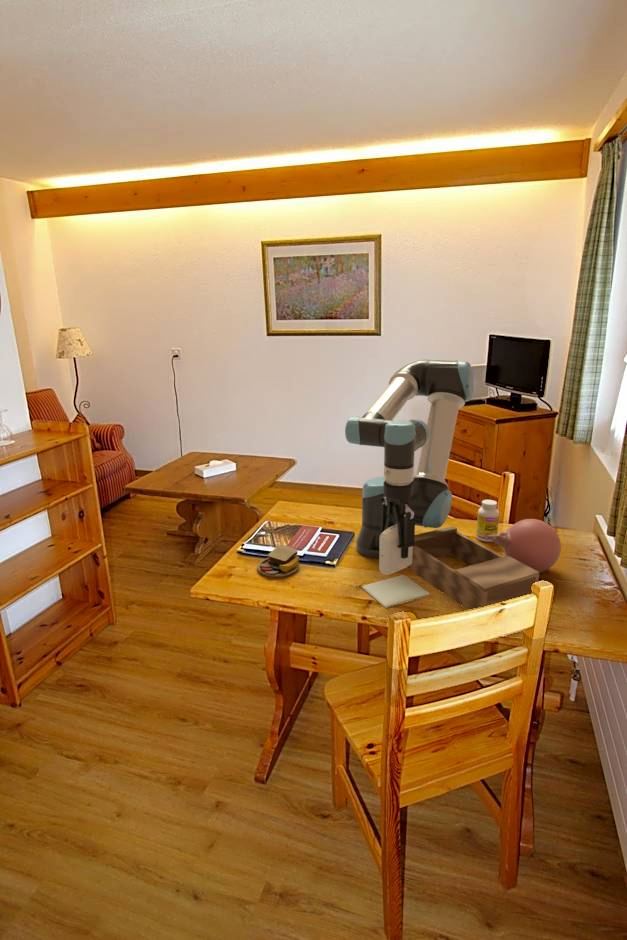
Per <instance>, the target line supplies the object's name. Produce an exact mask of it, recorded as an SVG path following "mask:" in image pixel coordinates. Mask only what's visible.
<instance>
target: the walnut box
mask: <svg viewBox="0 0 627 940" xmlns="http://www.w3.org/2000/svg"><path fill="white" fill-rule="evenodd" d="M450 555H451V556H453V557H454V558H456V559H457V560H459V561H461V562H462V563H464V564H466V565H467V566H464V567H460V568H458V569H453V568H452V567H450V566H449V565H447V564H445V563H444V562H442V561H441V560H440V559H439V558H442V557H447V556H450ZM407 569H408V570H410V571H411V572H413V573H414V574H415V575H417V576H418V577H420V579H422V580H424V581H425V582H427V583H428V584H430V585H431V586H432V587H434V588H435V589H437V590H438V591H439V590H440V591H439V592H441V593H442V592H443V593H442V594H444V595H445V596H446V595H447V597H448V598H449V597H450V599H451V600H452V599H453V600H452V601H453V602H455V601H456V602H457V603H456V602H455V603H456V604H458V605H459V604H460V605H459V606H461V605H462V606H463V607H464V608H463V607H462V606H461V607H462V608H463V609H465V610H466V609H473V608H478V607H484V606H487V605H491V604H495V603H499V602H502V601H506V600H509V599H512V598H516V597H520V596H523V595H527V594H531V593H532V590H531V586H532V584H533V583H535V582H538V583H539V578H540V572H538V571H536V570H534V569H532V568H531V567H529V566H527V565H525V564H523V563H521V562H519V561H517V560H516V559H514V558H512V557H510V556H508V555H507V556H506V555H505V556H503V555H501V554H500V553H498V552H496V551H494V550H492V549H490V548H488V547H487V546H485V545H483V544H481V543H479V542H478V541H475V540H474V539H472V538H470V537H468V536H466V535H465V534H463V533H461V532H459V531H458V527H456V526H454V525H452V526H447V527H443V528H437V529H435V530H431V531H430V530H429V531H426V532H422V533H418V534H415V539H414V546H413V555H412V564H411V565H410V566H408V567H407Z"/></svg>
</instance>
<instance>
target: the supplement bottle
mask: <svg viewBox="0 0 627 940" xmlns="http://www.w3.org/2000/svg"><path fill="white" fill-rule="evenodd" d="M497 506H498V502H497V501H496V500H492V499H483V500H482V501H481V507H480V508H479V509H478V511H477V520H476V521H477V522H476V533H475V536H476V539H477V540H479V541H482V542H486V543H492V542H493V540H491V539H488V536H489V535H497V534H498V532H499V531H498V530H499V521H500V520H499V519H500V511H499V510H498V509H497ZM493 543H494V542H493Z"/></svg>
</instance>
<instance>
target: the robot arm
mask: <svg viewBox="0 0 627 940" xmlns="http://www.w3.org/2000/svg"><path fill="white" fill-rule="evenodd" d="M473 374H474V373H473V368H472V365H471V363H470V362H468V361H463V360H462V361H461V360H458V359H457V360H442V359H441V360H440V359H439V360H436V359H419V360H416V361H413V362H410V363H408V364H406V365H404V366H403V367H401V368H399V369H398V370H397V371H396V372H395V373H393V375H392V376H391V377H390V379H389V382H388V386H387V387H386V388H385V389H384V390H383V392H382V393H381V394H380V395H379V396H378V397H377V399H376V400H374V402H373V404H372V405H371V406H370V407H369V408H368V409H367V411H366V412H365V413H364V414H363V415H362V417H360V416H354V417H353V416H352V417H350V418H349V419H348V420H347V422H346V424H345V428H344V429H345V430H344V431H345V432H344V435H345V440H346V441H347V442H348V443H349V444H354V445H358V446H369V447H379V448H384V449H383V450H384V457H383V458H384V459H383V467H384V468H383V471H384V472H383V476H378V477H373V478H370V479H368V480H367V481H365V482H364V483H363V485H362V493H361V527H360V530H359V534H358V536H357V539H356V547H355V548H356V550H357V552H358V553H359V554H361V555H363V556H364V557H365V556H366V557H368V558H371V559H379V538H380V535H381V533H382V532H383V531H385V530H386V529H388V528H389V527H391V526H393V525H396V524H397V526H398V535H399V543H400V545H398V549H397V569H398V570H399V569H401V570H404V569H406V568H407V558H408V547H411V546H414V539H415V535H416V534H415V532H416V531H415V530H416V526H418V527H423V528H426V529H427V528H430V529H431V528H433V529H440V528H441V527H442V526H444V524H445V522H446V521H447V519H448V517H449V514H450V511H451V508H452V501H453V493H452V492H451V491H450V490H449V485H448V483H447V482H446V479H445V478H446V474H447V469H448V465H449V460H450V454H451V450H452V444H453V439H454V433H455V429H456V425H457V424H456V423H457V419H458V414H459V410H460V409H461V408H462V407H464V406H465V404H466V400H470V399H472V398H473V394H474V375H473ZM417 396H418V397H419V396H423V397H427V400H428V402H429V403H430V409H429V413H428V417H427V422H424V421H423V420H421V419H415V418H414V419H410V420H404V419H402V420H401V419H396V420H394V419H395V418H396V417H397V415H398V414H399V412H400V411H401V410H402V409H403V407H404V406H405V405H406V404H407V402H408V401H410V400H413V398H414V397H417ZM426 423H427V424H426ZM420 448H421V451H420V457H419V461H418V466H417V470H416V474H414V473H415V471H414V470H415V452H416V451H417V450H418V449H420ZM403 568H404V569H403ZM407 569H408V568H407ZM399 571H400V570H399Z"/></svg>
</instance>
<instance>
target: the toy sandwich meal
mask: <svg viewBox="0 0 627 940" xmlns="http://www.w3.org/2000/svg"><path fill="white" fill-rule="evenodd" d="M299 561H300V556H298V550H297V548H294V547H292V546H288V545H286V544H284V545H283V544H280V545H279V544H278V545H277V546H276V548H274V549H273V550H272V551H270V552H269V553H268V554H267V558H264V559H262V560H261V561H259V562H258V563H257V568H256V569H257V571H258V572H259V573H260V574H263V575H264V576H266V577H269V578H270V577H271V578H283V577H287V576H288V577H289V576H290V575H292V574H294V573H295V572H297V570H298V569H299V568H300V563H299Z"/></svg>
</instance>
